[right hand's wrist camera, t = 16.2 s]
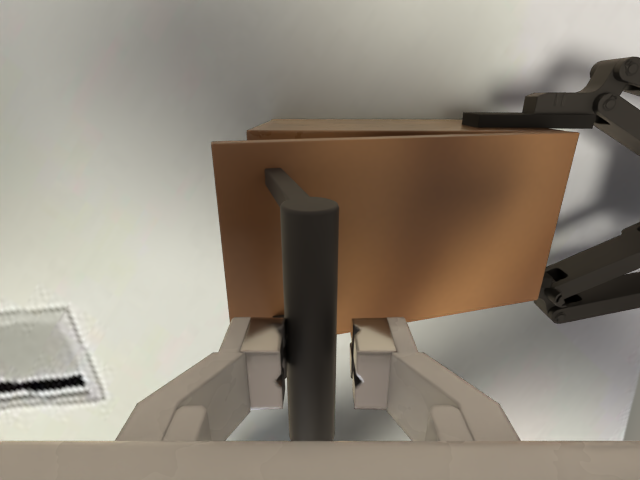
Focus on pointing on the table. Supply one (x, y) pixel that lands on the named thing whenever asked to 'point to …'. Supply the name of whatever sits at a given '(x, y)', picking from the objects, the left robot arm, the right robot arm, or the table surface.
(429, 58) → the table surface
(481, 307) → the lid
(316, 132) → the chest
